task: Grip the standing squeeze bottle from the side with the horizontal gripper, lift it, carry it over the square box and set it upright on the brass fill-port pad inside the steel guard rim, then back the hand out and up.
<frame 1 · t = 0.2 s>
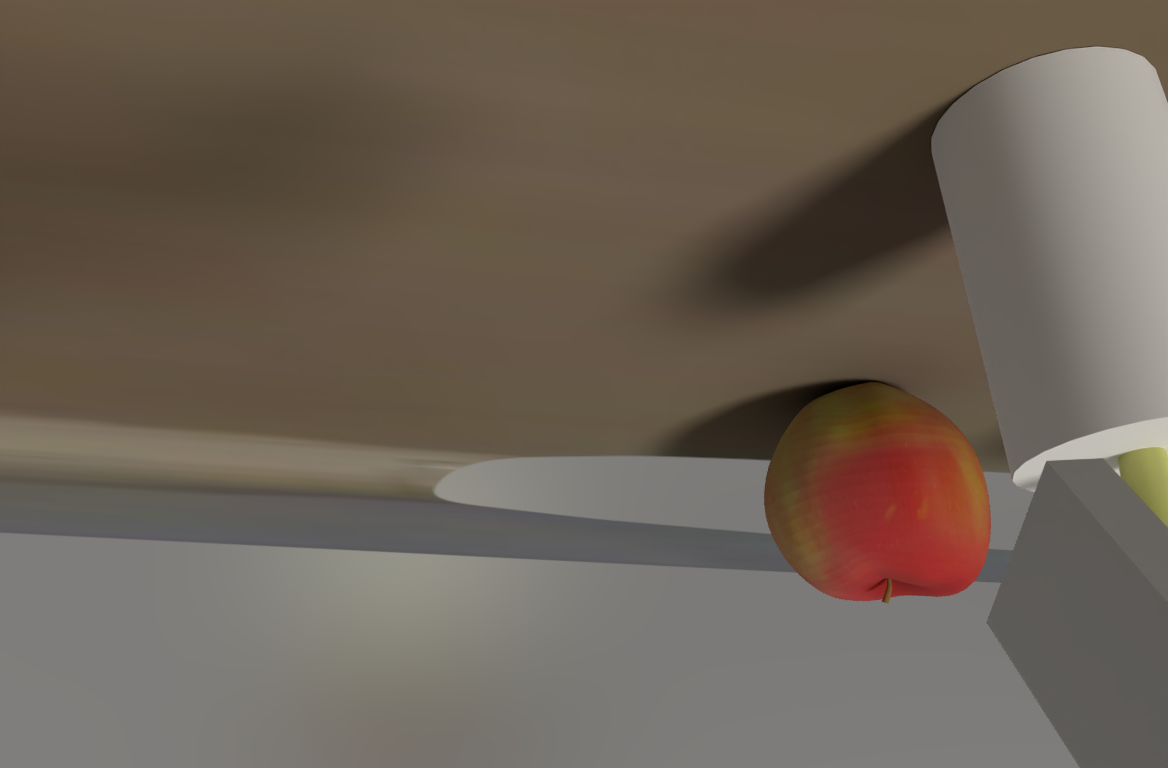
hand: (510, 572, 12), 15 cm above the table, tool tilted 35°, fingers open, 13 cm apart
apple: (852, 390, 51), on the table
candle: (1041, 115, 31), on the table
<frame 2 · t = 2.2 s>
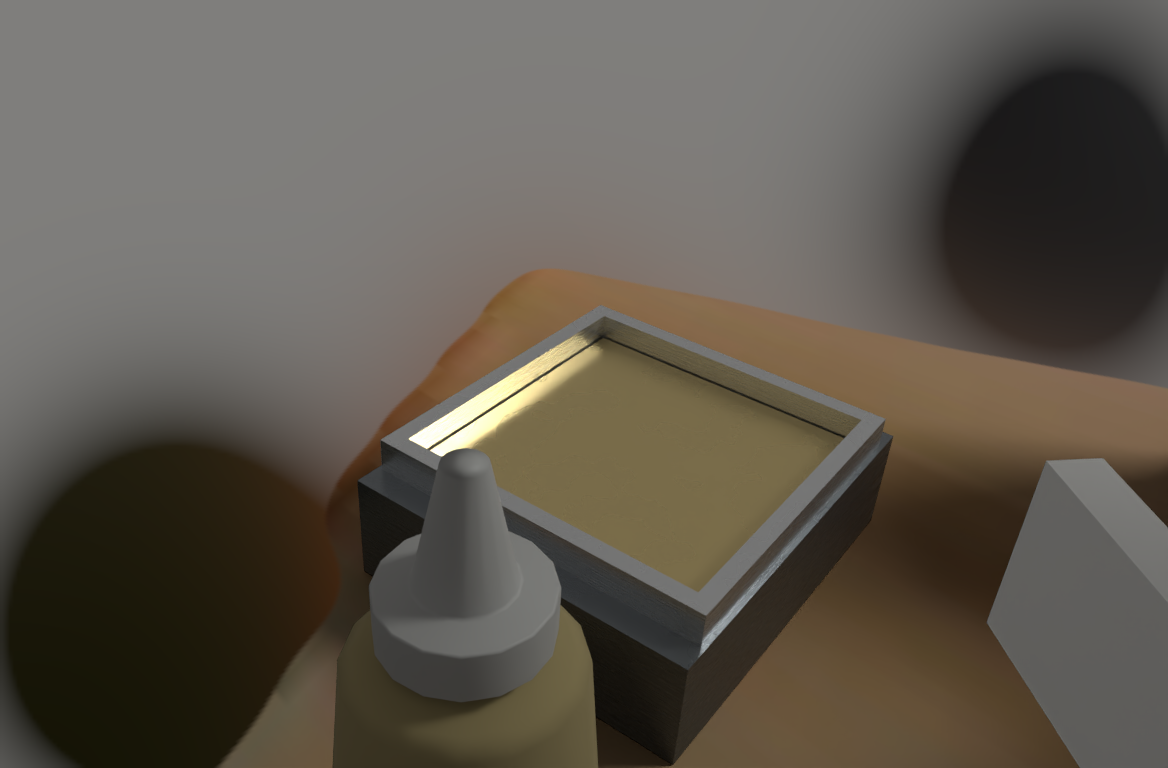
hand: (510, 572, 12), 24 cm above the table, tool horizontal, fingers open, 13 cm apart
square box: (630, 544, 49), on the table
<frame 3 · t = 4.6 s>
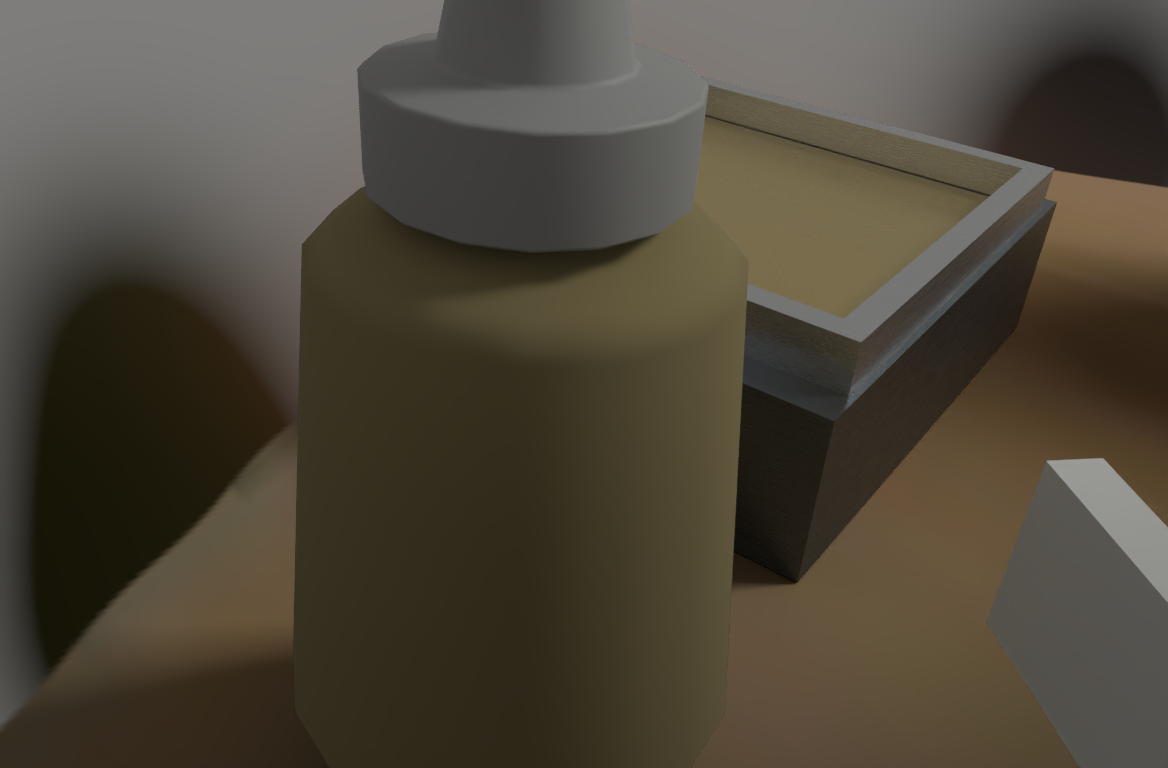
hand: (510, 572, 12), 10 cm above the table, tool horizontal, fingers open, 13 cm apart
square box: (709, 343, 37), on the table
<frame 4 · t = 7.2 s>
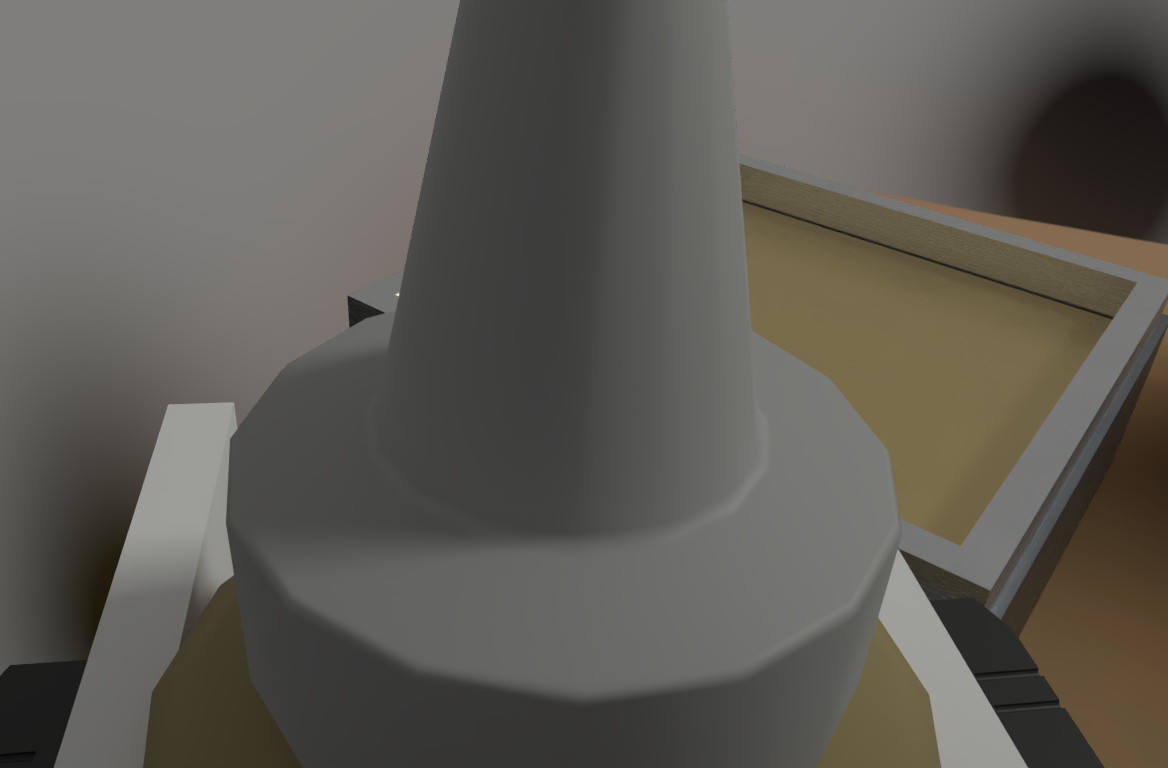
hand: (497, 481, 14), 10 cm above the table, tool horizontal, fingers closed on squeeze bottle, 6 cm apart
square box: (750, 488, 31), on the table
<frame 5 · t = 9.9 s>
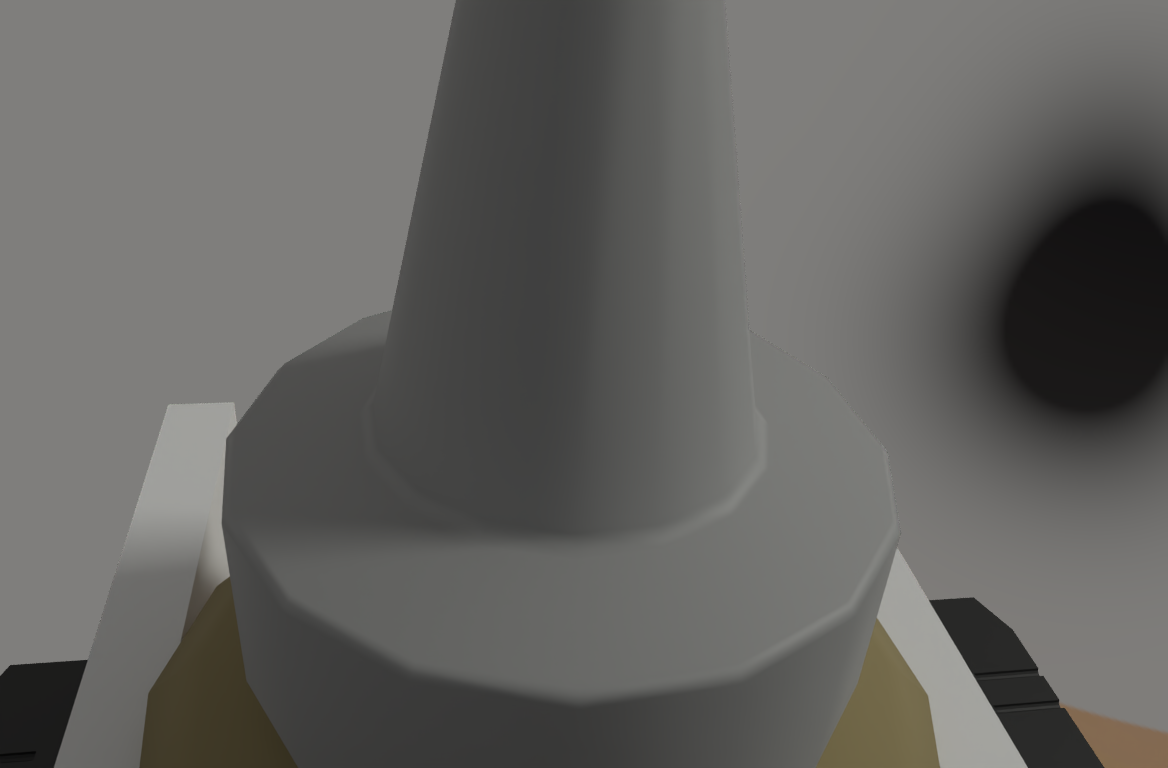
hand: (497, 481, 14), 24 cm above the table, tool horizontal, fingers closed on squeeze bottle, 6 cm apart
when the fingers open (17 cm above the table, at t = 12.6 s): squeeze bottle drops 1 cm, resting on square box.
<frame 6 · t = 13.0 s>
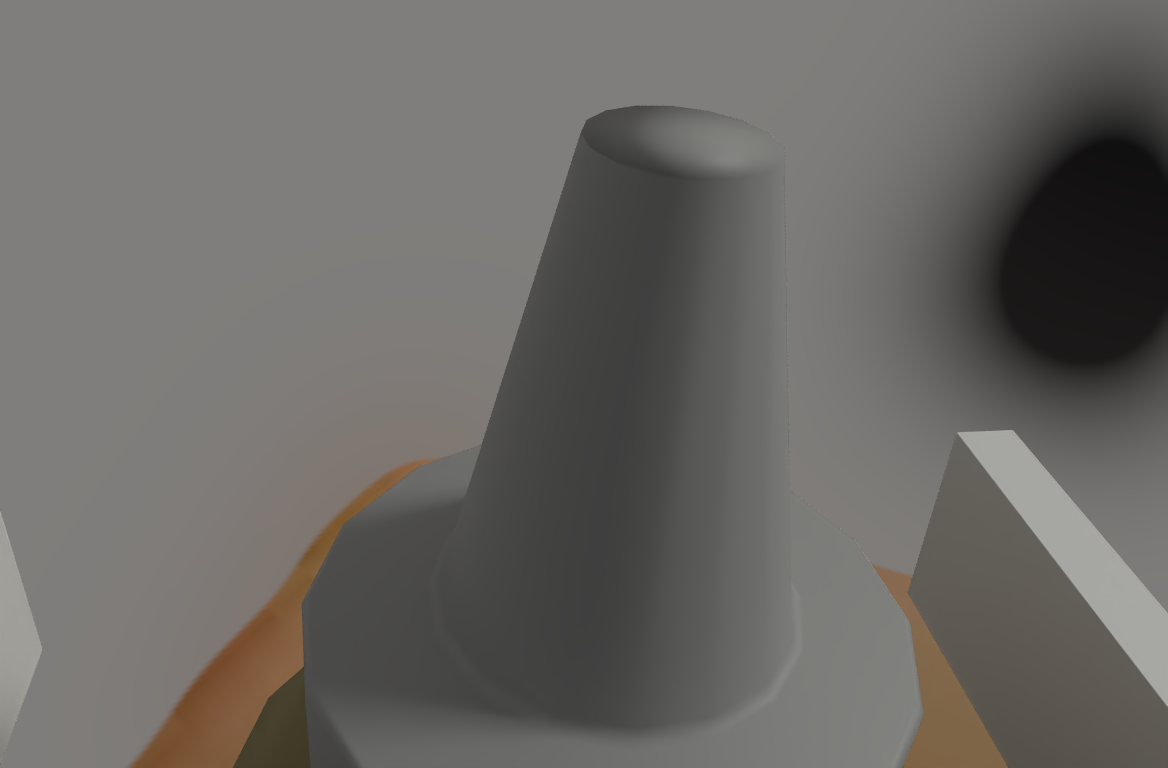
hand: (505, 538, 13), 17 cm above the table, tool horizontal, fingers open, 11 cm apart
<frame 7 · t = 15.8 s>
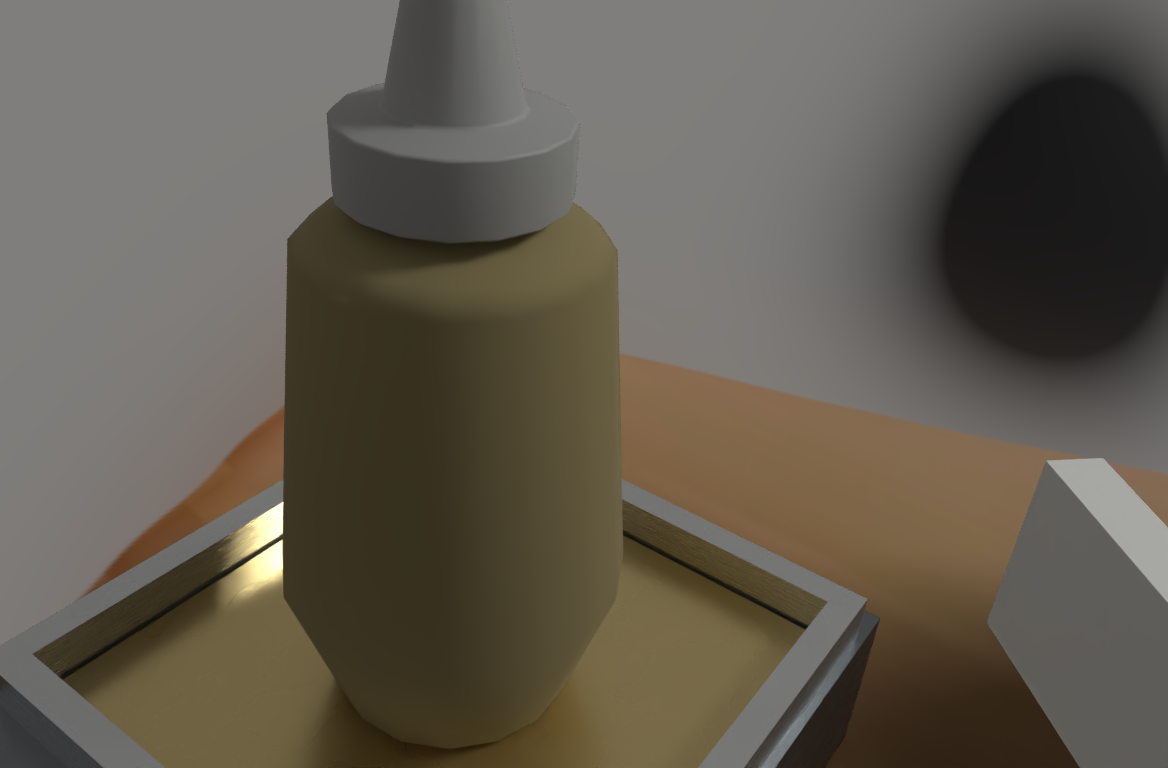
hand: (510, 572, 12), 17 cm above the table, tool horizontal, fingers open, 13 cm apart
squeeze bottle: (454, 665, 27), point 5 cm above the table, touching square box
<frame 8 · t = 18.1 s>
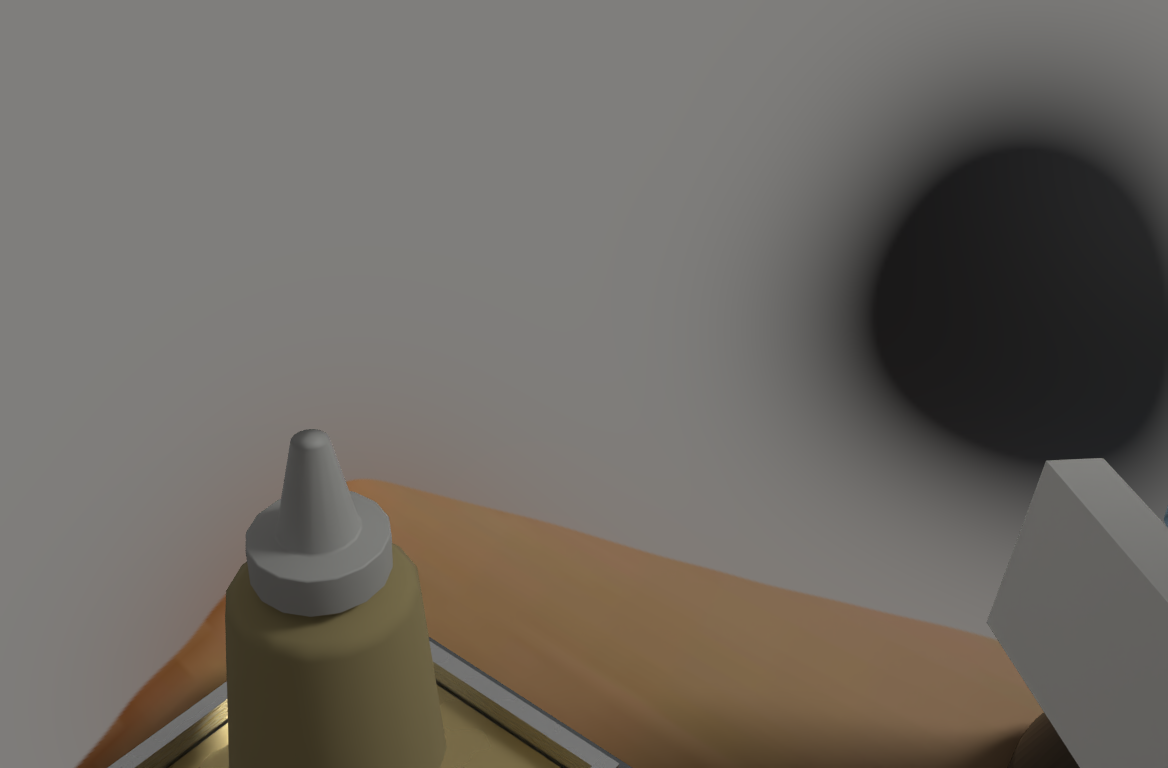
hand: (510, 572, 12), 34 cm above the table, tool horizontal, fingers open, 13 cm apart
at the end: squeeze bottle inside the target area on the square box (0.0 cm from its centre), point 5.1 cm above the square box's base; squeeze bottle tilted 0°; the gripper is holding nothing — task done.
